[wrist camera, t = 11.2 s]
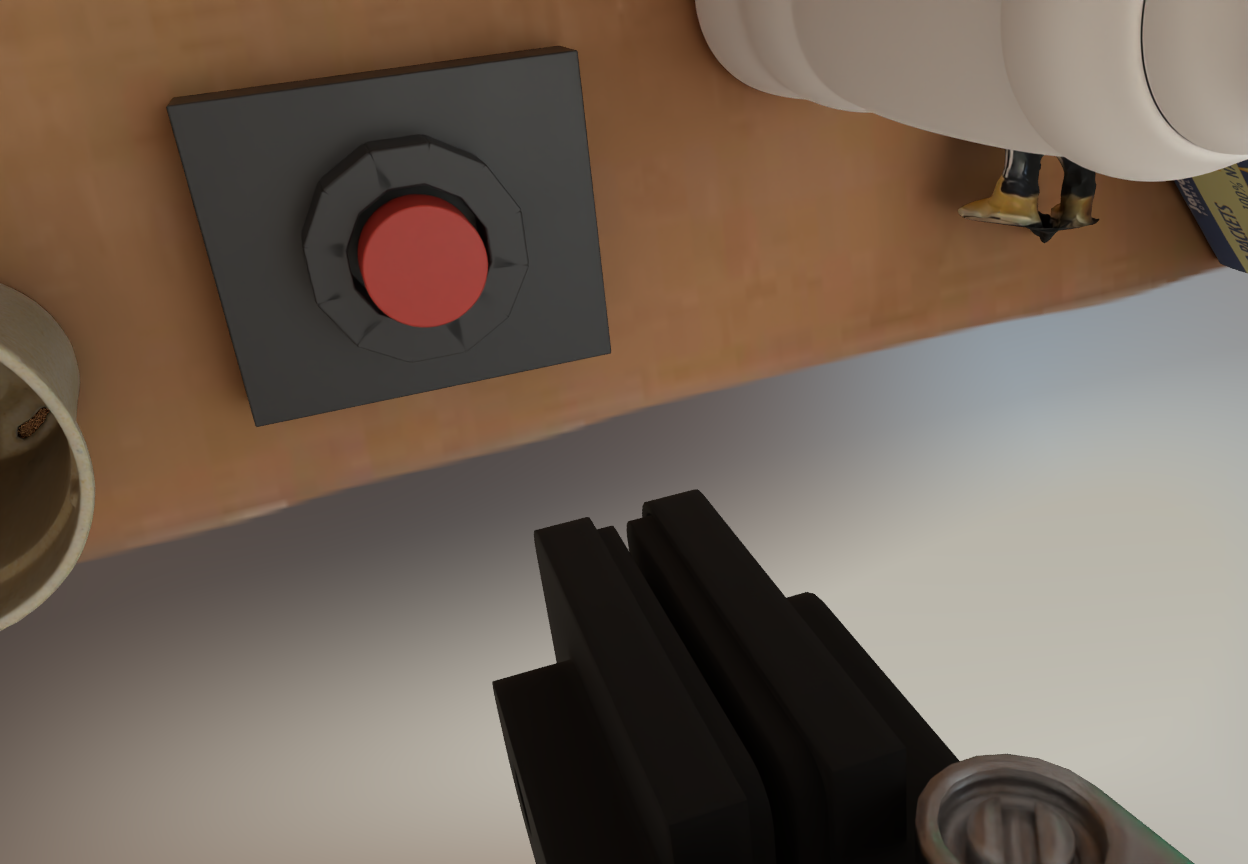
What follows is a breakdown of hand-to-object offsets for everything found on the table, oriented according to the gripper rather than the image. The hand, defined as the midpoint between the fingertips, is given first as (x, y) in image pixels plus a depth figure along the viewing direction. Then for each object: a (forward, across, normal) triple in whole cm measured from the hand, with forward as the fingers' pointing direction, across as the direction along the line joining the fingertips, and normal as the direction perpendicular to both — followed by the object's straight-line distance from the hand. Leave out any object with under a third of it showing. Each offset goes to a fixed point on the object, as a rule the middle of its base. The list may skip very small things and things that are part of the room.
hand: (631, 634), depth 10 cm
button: (+23, 0, +2) cm, 23 cm away
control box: (+26, 0, +2) cm, 27 cm away
